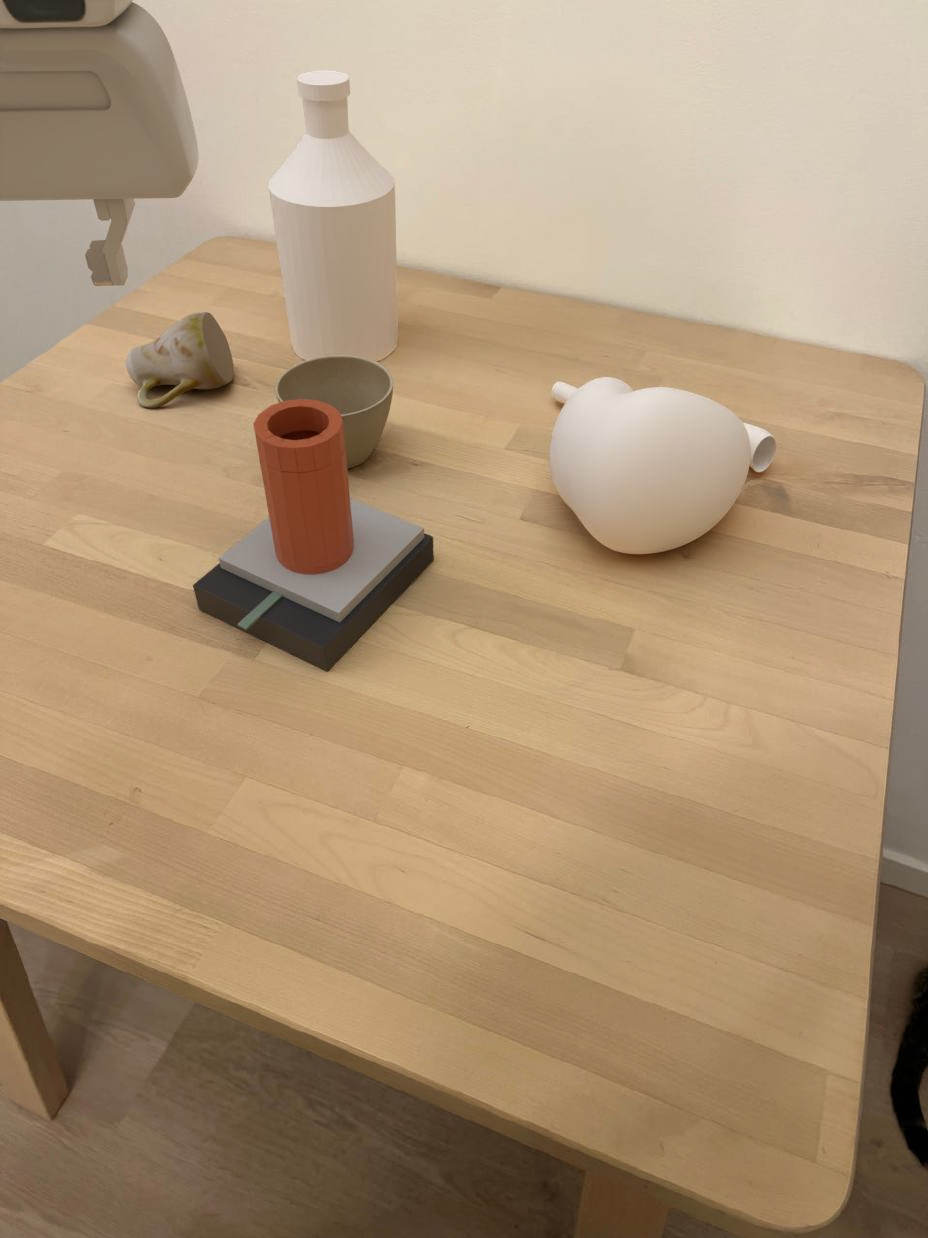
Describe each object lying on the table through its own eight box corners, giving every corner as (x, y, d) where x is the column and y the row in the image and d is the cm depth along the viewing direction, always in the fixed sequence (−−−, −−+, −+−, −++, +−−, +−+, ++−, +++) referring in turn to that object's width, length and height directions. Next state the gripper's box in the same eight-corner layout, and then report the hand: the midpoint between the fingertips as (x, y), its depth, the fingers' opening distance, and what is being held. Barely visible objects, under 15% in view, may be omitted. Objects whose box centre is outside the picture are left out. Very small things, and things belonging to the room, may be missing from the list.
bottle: (280, 322, 102) (245, 63, 84) (385, 308, 104) (373, 54, 87) (299, 376, 94) (265, 103, 76) (413, 359, 96) (406, 92, 79)
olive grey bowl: (335, 411, 89) (328, 342, 84) (418, 446, 85) (416, 376, 80) (262, 460, 84) (250, 389, 79) (347, 500, 80) (340, 429, 74)
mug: (131, 370, 95) (163, 279, 90) (221, 414, 97) (256, 327, 92) (106, 391, 88) (139, 295, 84) (203, 438, 90) (240, 346, 86)
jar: (259, 556, 69) (235, 430, 61) (307, 515, 72) (291, 390, 65) (322, 584, 67) (306, 457, 59) (369, 540, 70) (359, 414, 63)
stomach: (786, 532, 84) (578, 447, 97) (835, 387, 78) (606, 318, 91) (645, 592, 68) (421, 481, 82) (693, 417, 62) (441, 327, 76)
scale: (184, 621, 69) (174, 586, 66) (313, 511, 78) (308, 477, 76) (314, 685, 65) (309, 651, 62) (433, 560, 74) (433, 526, 72)
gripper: (-402, -25, 35) (-219, 316, 45) (146, -26, 37) (209, 306, 46) (-317, -56, 40) (-167, 261, 50) (169, -56, 41) (222, 253, 51)
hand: (18, 283), depth 48 cm, fingers open, 8 cm apart
